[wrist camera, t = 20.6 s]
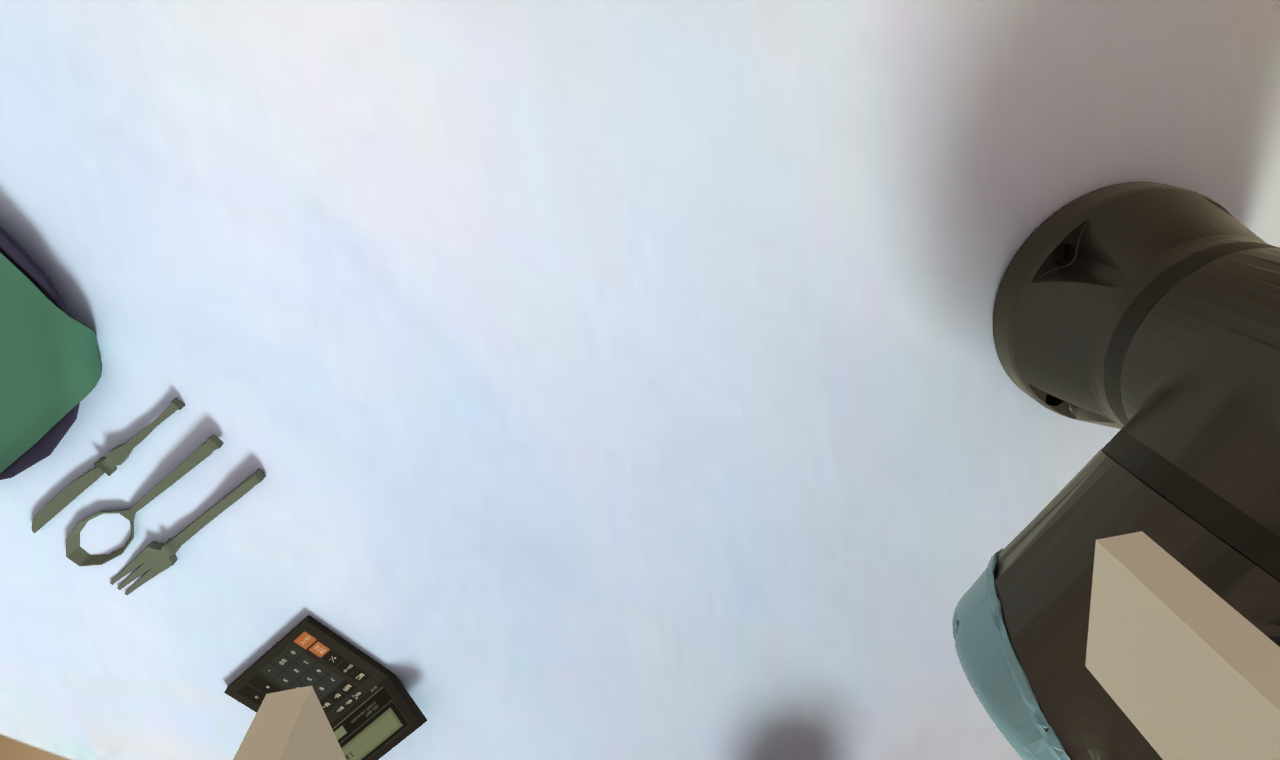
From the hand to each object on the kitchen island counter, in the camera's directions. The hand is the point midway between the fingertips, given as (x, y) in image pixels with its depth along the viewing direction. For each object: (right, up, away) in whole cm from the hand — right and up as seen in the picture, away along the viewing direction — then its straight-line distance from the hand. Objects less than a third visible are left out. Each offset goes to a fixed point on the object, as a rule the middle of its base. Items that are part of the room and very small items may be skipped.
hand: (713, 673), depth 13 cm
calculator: (-25, -19, +44) cm, 54 cm away
